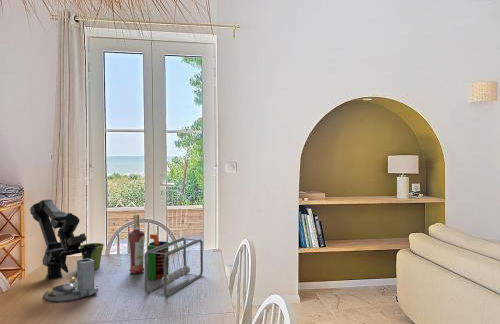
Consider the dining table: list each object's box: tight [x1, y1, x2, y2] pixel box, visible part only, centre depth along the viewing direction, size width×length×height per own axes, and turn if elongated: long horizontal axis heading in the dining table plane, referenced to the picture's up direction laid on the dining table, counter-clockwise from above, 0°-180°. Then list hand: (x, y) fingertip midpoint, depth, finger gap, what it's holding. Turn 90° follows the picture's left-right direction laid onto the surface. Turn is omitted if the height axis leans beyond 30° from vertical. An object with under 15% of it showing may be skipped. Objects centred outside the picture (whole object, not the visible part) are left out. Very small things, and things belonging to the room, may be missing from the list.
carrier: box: [43, 276, 90, 303], centre depth 156 cm, size 19×19×4 cm
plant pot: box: [79, 242, 105, 270], centre depth 189 cm, size 12×12×11 cm
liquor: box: [128, 213, 145, 275], centre depth 181 cm, size 7×7×28 cm
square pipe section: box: [74, 258, 99, 297], centre depth 154 cm, size 9×9×13 cm
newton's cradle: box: [144, 237, 204, 298], centre depth 165 cm, size 30×10×18 cm, turn 157°
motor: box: [147, 233, 170, 282], centre depth 175 cm, size 10×9×20 cm
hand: (78, 269), depth 158 cm, fingers open, 9 cm apart
